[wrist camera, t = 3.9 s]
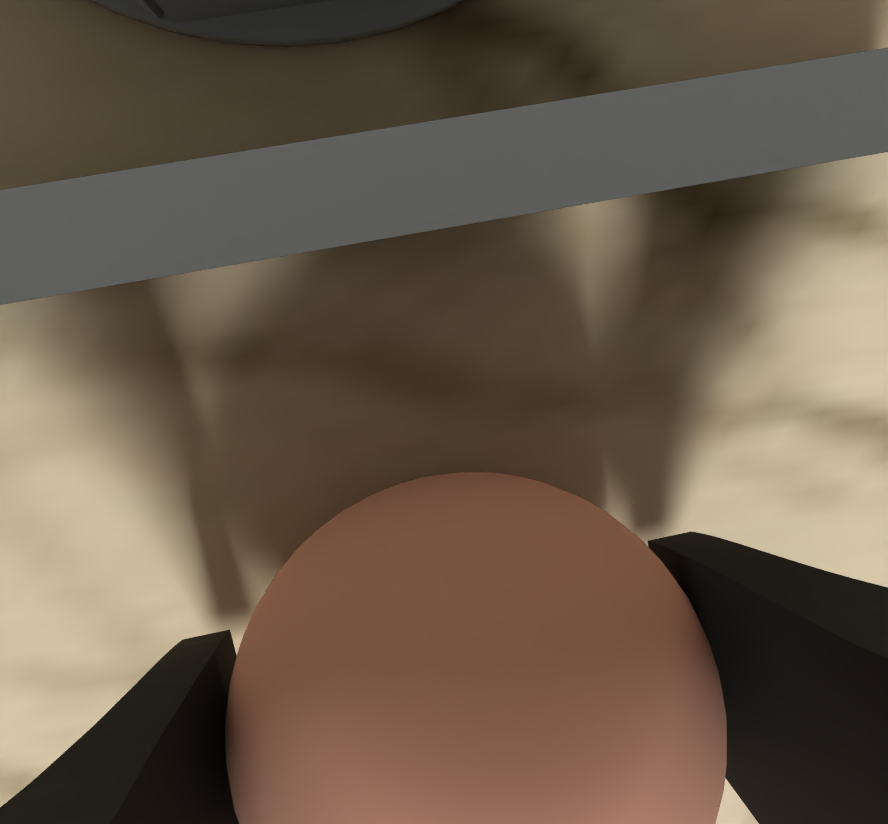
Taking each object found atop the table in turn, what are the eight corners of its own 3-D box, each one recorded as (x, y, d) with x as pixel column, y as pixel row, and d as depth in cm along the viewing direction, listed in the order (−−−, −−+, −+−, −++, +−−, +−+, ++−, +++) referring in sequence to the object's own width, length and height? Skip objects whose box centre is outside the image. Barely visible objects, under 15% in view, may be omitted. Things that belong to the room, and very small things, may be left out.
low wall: (870, 143, 12) (1049, 124, 9) (-184, 324, 10) (-379, 369, 8) (868, 67, 11) (1051, 21, 9) (-212, 242, 10) (-427, 257, 7)
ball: (640, 722, 13) (852, 1069, 8) (292, 803, 13) (268, 1233, 8) (601, 386, 12) (826, 533, 7) (207, 462, 11) (105, 690, 6)
